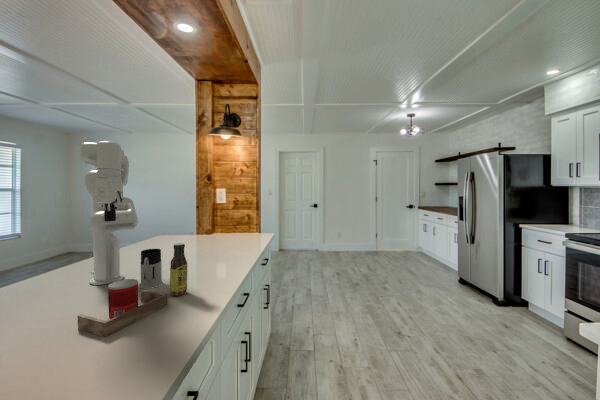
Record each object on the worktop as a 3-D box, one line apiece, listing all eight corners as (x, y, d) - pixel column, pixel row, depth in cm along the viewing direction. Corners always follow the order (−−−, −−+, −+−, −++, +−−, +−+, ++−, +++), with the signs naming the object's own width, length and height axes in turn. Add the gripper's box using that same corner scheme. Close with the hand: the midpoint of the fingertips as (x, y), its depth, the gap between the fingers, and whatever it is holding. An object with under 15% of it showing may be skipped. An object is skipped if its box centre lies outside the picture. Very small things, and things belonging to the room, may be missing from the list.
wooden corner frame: (77, 329, 75) (77, 315, 74) (143, 300, 94) (143, 289, 94) (105, 337, 70) (105, 323, 70) (167, 305, 90) (167, 294, 90)
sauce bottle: (180, 297, 97) (179, 246, 96) (166, 296, 98) (165, 245, 97) (191, 291, 103) (190, 243, 103) (177, 289, 104) (177, 242, 104)
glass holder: (164, 280, 115) (164, 247, 115) (157, 292, 102) (157, 255, 101) (142, 282, 113) (142, 249, 112) (132, 294, 99) (131, 257, 99)
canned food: (143, 313, 84) (142, 281, 83) (115, 324, 77) (115, 289, 77) (131, 308, 88) (130, 277, 87) (104, 318, 81) (103, 284, 81)
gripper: (85, 173, 97) (86, 221, 97) (112, 173, 92) (113, 223, 92) (106, 175, 104) (107, 219, 104) (132, 174, 99) (133, 221, 99)
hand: (110, 221), depth 98 cm, fingers closed
